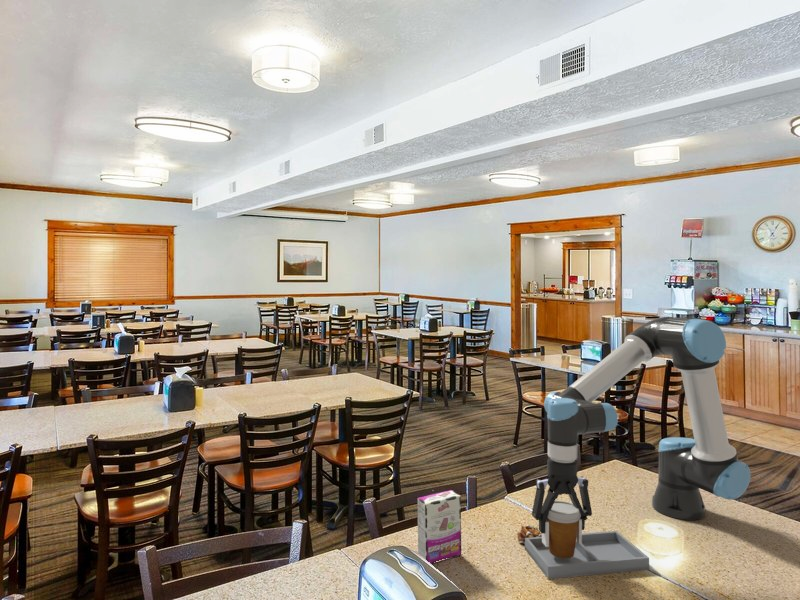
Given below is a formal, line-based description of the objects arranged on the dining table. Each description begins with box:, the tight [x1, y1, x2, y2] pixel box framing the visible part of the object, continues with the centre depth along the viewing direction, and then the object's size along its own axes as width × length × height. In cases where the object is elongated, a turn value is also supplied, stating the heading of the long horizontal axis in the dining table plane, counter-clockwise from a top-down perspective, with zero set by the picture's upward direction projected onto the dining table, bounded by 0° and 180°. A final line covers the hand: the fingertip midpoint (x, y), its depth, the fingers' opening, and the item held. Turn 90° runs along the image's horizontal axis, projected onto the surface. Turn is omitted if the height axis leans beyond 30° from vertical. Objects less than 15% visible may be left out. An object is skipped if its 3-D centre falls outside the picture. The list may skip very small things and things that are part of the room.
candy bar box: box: [416, 489, 462, 565], centre depth 137 cm, size 11×5×16 cm, turn 117°
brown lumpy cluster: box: [516, 524, 542, 545], centre depth 148 cm, size 7×12×4 cm, turn 175°
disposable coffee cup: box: [547, 500, 581, 558], centre depth 135 cm, size 10×10×12 cm
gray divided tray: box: [524, 530, 650, 579], centre depth 136 cm, size 27×15×3 cm, turn 99°
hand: (561, 542), depth 135 cm, fingers closed on disposable coffee cup, 8 cm apart
